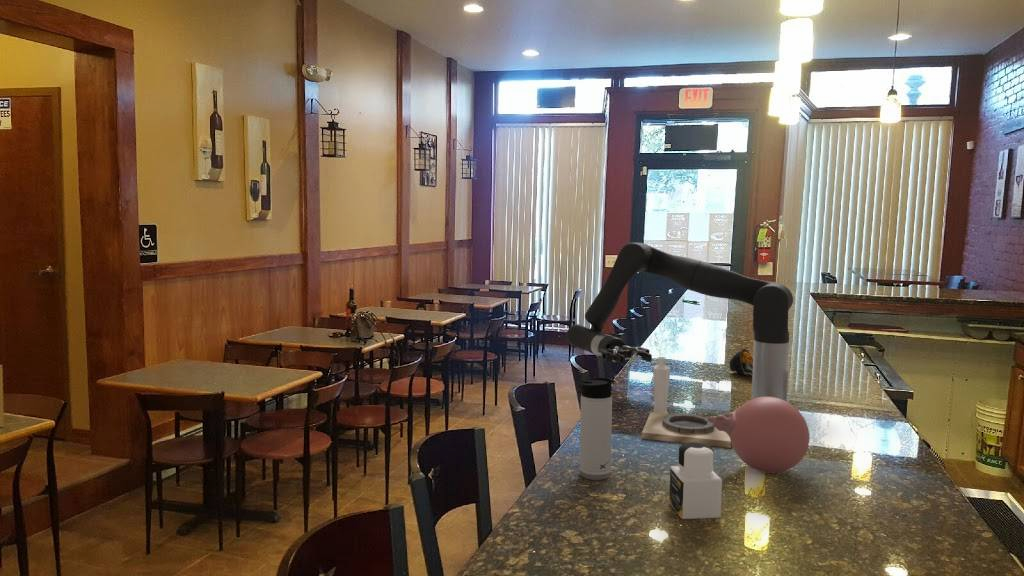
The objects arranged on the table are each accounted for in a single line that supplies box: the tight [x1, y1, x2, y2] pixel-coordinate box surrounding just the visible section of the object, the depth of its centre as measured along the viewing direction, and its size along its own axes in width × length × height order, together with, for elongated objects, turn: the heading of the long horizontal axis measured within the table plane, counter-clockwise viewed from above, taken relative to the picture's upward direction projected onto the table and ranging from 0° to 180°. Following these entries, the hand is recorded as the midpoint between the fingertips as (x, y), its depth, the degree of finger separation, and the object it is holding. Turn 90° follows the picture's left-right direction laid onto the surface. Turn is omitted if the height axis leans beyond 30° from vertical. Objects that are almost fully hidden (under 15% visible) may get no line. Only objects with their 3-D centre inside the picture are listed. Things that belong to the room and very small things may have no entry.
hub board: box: [641, 412, 732, 449], centre depth 167 cm, size 20×17×3 cm
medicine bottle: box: [668, 442, 723, 520], centre depth 123 cm, size 7×7×12 cm
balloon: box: [707, 397, 810, 474], centre depth 143 cm, size 15×20×15 cm
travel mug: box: [579, 377, 615, 481], centre depth 139 cm, size 6×7×20 cm
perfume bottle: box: [652, 356, 672, 414], centre depth 182 cm, size 5×4×15 cm
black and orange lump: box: [729, 348, 753, 378], centre depth 222 cm, size 9×11×18 cm
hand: (637, 359), depth 192 cm, fingers open, 8 cm apart
